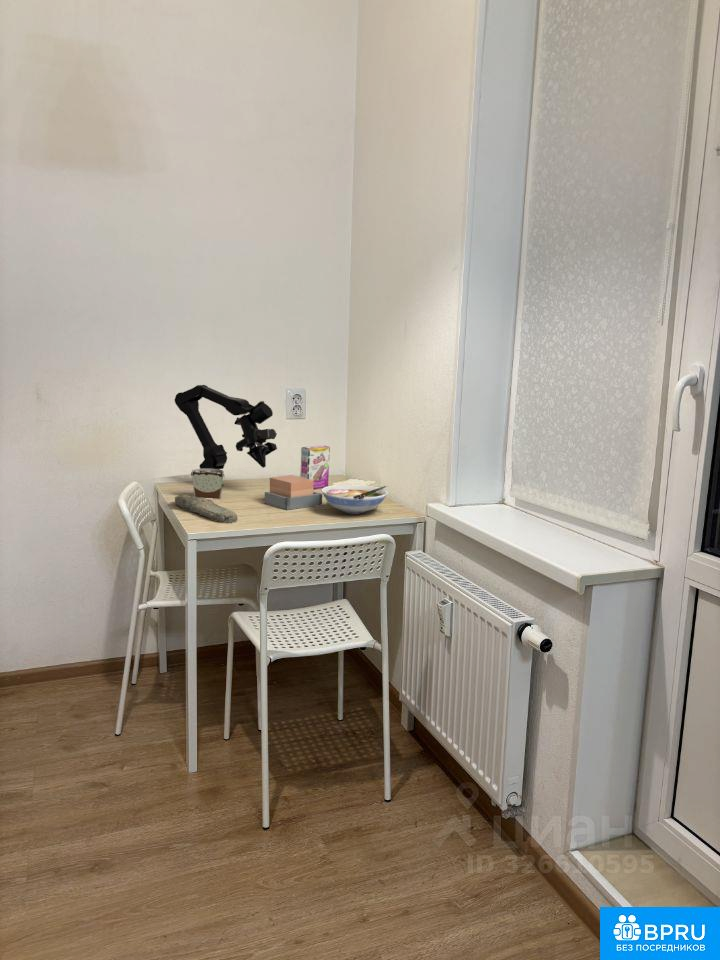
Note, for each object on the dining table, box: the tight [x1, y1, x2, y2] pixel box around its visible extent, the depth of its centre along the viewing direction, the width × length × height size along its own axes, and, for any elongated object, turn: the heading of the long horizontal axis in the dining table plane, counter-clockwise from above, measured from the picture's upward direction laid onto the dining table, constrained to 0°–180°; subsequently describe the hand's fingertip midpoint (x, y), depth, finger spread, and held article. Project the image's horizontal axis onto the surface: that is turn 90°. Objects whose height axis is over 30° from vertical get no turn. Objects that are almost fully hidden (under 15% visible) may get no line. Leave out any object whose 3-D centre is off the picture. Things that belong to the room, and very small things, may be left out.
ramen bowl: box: [320, 484, 389, 515], centre depth 265 cm, size 25×23×8 cm
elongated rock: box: [174, 493, 239, 524], centre depth 257 cm, size 35×5×10 cm
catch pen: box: [264, 490, 323, 511], centre depth 274 cm, size 13×15×4 cm
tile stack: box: [269, 474, 314, 498], centre depth 275 cm, size 12×10×9 cm
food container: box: [190, 468, 226, 500], centre depth 281 cm, size 12×6×10 cm, turn 84°
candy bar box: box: [299, 445, 331, 490], centre depth 304 cm, size 11×5×16 cm, turn 136°
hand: (264, 467), depth 286 cm, fingers closed
